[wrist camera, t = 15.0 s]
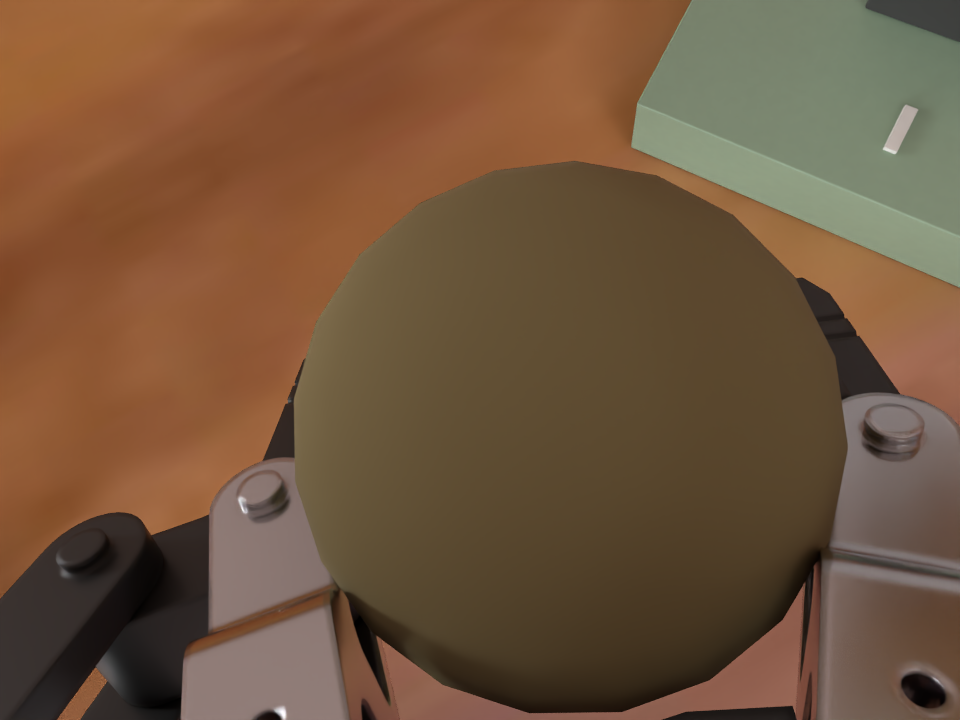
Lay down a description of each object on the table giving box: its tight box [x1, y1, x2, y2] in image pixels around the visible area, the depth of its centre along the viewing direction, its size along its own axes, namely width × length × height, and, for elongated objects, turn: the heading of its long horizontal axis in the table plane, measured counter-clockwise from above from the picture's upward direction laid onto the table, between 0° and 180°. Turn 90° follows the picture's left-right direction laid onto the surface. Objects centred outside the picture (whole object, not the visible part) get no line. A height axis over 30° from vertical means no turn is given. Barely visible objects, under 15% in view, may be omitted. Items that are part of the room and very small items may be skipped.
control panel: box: [631, 0, 960, 287], centre depth 22 cm, size 14×12×3 cm
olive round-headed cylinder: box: [294, 161, 848, 713], centre depth 11 cm, size 6×6×11 cm
